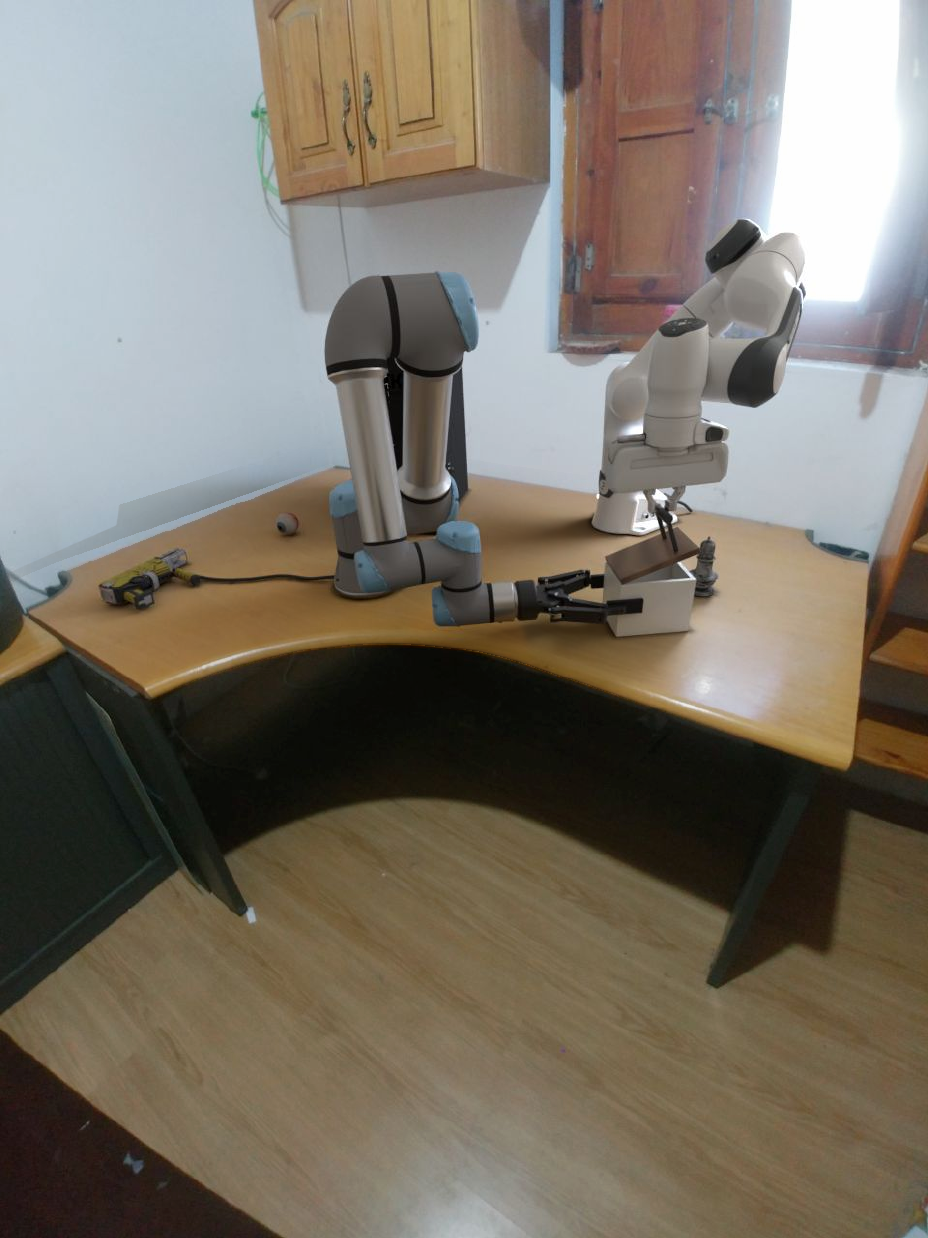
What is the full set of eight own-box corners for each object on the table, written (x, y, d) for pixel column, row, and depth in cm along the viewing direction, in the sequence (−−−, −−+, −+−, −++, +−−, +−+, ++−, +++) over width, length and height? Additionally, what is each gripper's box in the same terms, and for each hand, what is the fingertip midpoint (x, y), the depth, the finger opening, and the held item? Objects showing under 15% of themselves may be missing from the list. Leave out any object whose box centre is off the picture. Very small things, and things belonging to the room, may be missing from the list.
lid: (679, 531, 113) (668, 491, 109) (701, 553, 104) (690, 510, 100) (606, 561, 115) (593, 523, 111) (621, 584, 106) (608, 544, 102)
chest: (668, 605, 121) (675, 556, 115) (688, 630, 112) (696, 579, 107) (601, 610, 120) (605, 562, 115) (616, 636, 112) (620, 585, 106)
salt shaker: (717, 597, 122) (727, 542, 116) (687, 595, 123) (695, 541, 117) (713, 584, 127) (722, 531, 121) (684, 583, 128) (692, 530, 122)
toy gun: (224, 556, 146) (173, 545, 150) (148, 597, 126) (92, 584, 130) (226, 573, 148) (177, 563, 152) (152, 617, 128) (97, 603, 132)
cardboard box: (436, 534, 159) (422, 349, 137) (364, 531, 164) (339, 351, 141) (468, 489, 191) (460, 332, 168) (407, 487, 195) (391, 335, 173)
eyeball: (273, 537, 164) (268, 516, 161) (287, 528, 169) (282, 508, 166) (291, 539, 161) (286, 518, 158) (305, 530, 166) (301, 510, 163)
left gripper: (507, 591, 124) (614, 582, 124) (524, 651, 104) (651, 640, 105) (506, 557, 120) (616, 549, 121) (524, 613, 100) (655, 602, 101)
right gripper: (616, 441, 95) (610, 524, 102) (739, 429, 96) (725, 511, 103) (602, 432, 100) (598, 511, 107) (719, 420, 102) (707, 499, 109)
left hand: (632, 591), depth 113 cm, fingers closed on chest, 10 cm apart
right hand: (661, 511), depth 105 cm, fingers closed on lid, 2 cm apart
